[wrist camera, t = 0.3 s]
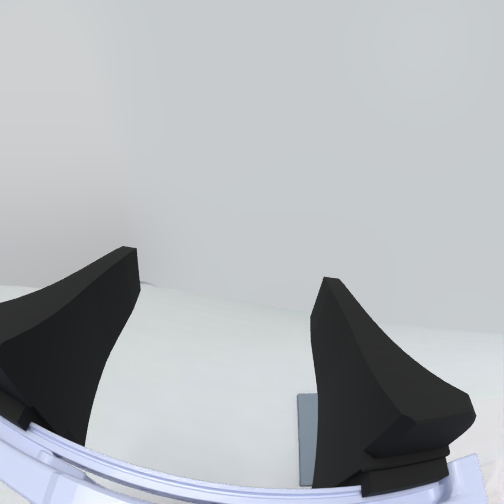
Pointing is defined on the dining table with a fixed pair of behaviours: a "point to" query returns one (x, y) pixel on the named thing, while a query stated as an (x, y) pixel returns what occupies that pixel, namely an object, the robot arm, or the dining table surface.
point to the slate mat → (307, 435)
